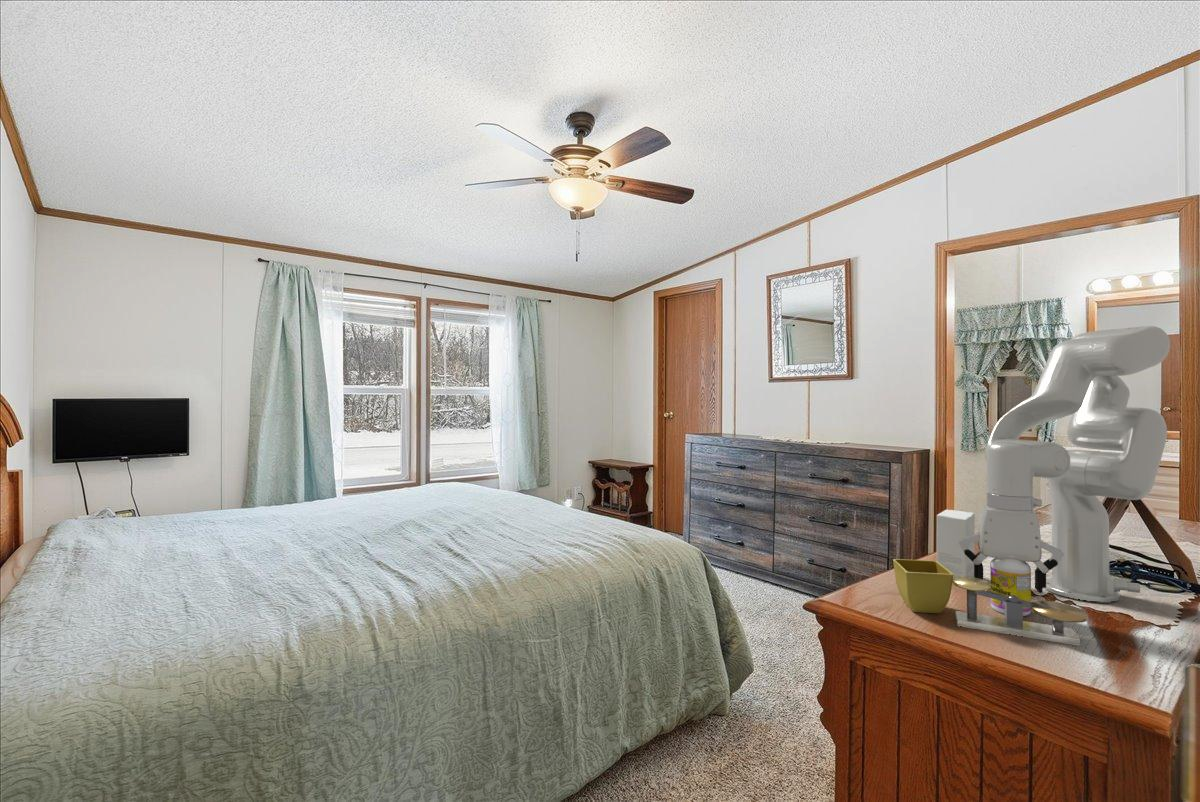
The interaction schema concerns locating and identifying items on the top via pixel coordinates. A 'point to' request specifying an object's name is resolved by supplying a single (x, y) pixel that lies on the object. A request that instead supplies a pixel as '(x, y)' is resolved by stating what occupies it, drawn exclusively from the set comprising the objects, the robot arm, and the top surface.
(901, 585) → the flower pot
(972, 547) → the skincare box
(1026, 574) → the supplement bottle
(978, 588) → the balance
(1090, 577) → the robot arm
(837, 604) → the top surface
